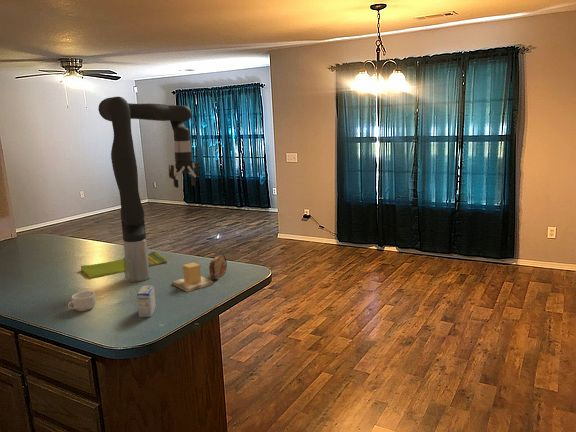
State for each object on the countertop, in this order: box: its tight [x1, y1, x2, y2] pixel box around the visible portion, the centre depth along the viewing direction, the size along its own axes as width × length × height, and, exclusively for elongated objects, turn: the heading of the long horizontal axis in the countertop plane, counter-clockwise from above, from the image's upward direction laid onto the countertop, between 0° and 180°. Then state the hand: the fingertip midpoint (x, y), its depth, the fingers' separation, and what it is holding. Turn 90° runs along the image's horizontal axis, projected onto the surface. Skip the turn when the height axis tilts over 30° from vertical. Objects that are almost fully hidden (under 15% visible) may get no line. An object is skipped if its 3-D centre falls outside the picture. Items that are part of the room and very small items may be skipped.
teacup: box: [67, 290, 96, 312], centre depth 164 cm, size 10×8×5 cm
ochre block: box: [182, 262, 202, 284], centre depth 187 cm, size 5×5×7 cm
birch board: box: [171, 275, 214, 293], centre depth 188 cm, size 12×12×1 cm
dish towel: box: [80, 250, 168, 280], centre depth 213 cm, size 15×36×3 cm, turn 127°
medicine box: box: [136, 285, 157, 318], centre depth 160 cm, size 8×4×9 cm, turn 5°
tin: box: [208, 254, 227, 280], centre depth 197 cm, size 15×3×8 cm, turn 168°
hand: (185, 186), depth 211 cm, fingers open, 8 cm apart
